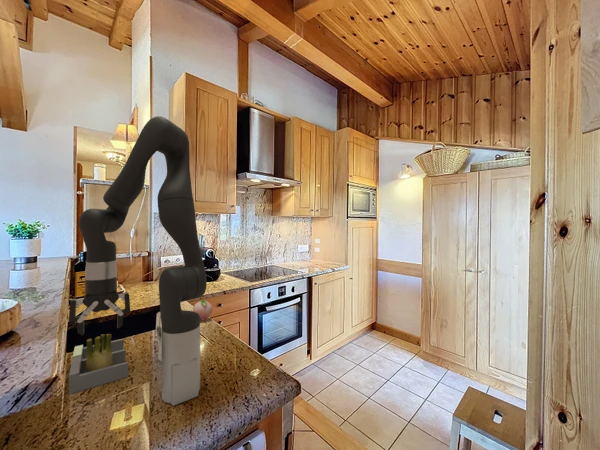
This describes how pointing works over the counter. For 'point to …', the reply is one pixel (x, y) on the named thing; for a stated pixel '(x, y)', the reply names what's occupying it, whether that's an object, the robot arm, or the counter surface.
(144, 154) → the robot arm
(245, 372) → the counter surface
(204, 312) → the decorative fruit
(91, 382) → the comb rack
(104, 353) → the fennel bulb
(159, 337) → the beer glass
